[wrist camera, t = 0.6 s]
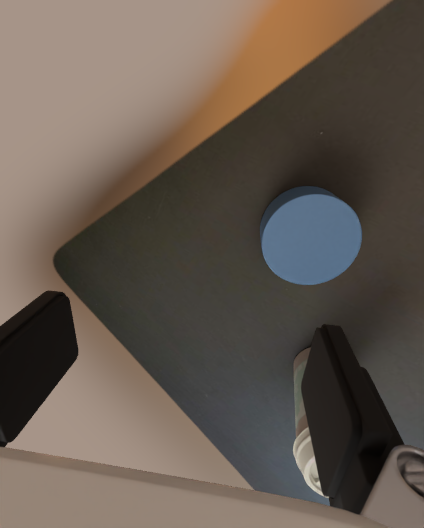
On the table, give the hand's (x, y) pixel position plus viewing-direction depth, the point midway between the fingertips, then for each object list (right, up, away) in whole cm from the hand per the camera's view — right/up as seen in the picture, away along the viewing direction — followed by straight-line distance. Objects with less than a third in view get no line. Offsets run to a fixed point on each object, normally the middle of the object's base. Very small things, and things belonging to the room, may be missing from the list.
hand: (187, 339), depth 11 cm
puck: (+9, +6, +16) cm, 20 cm away
